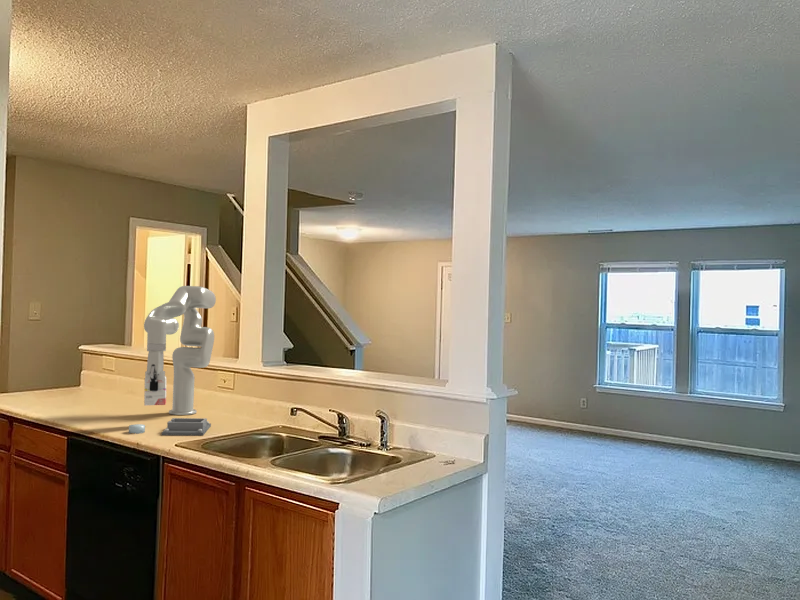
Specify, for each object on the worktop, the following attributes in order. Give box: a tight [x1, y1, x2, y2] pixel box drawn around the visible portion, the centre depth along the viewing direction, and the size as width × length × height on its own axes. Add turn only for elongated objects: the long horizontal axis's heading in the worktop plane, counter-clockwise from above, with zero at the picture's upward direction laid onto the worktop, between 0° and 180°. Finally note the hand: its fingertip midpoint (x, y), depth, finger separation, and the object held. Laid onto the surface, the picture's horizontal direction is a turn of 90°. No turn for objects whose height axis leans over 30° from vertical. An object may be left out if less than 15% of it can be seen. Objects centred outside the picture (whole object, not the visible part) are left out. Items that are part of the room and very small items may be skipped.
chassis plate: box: [161, 417, 212, 437], centre depth 262 cm, size 20×16×4 cm
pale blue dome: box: [128, 423, 146, 435], centre depth 256 cm, size 6×6×3 cm
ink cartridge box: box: [143, 370, 167, 406], centre depth 271 cm, size 9×5×15 cm, turn 105°
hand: (155, 389), depth 271 cm, fingers closed on ink cartridge box, 5 cm apart
